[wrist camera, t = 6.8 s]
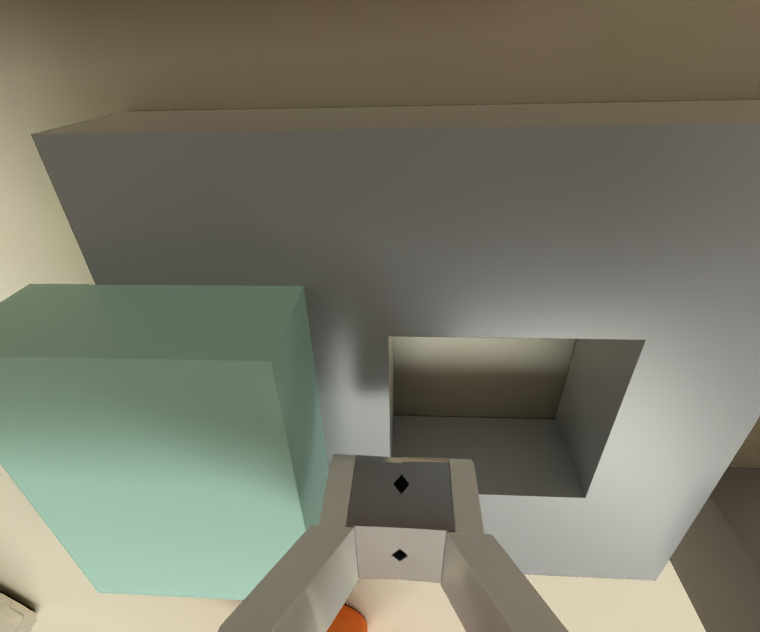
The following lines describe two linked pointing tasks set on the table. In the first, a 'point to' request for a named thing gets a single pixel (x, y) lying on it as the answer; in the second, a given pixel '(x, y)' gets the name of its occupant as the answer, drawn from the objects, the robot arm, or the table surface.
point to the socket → (476, 283)
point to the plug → (725, 555)
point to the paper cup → (348, 621)
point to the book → (15, 616)
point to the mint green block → (164, 429)
